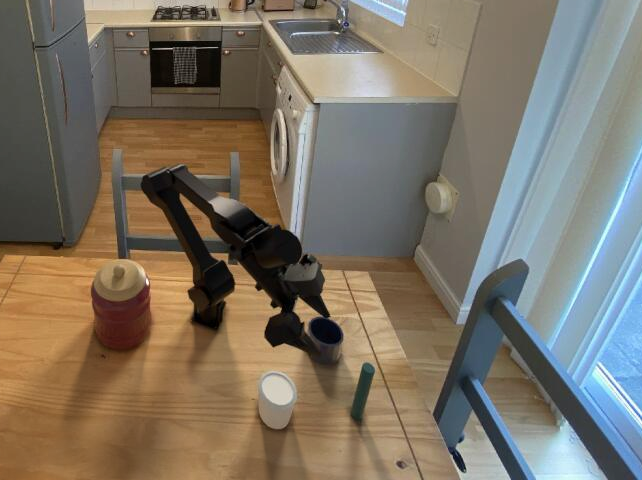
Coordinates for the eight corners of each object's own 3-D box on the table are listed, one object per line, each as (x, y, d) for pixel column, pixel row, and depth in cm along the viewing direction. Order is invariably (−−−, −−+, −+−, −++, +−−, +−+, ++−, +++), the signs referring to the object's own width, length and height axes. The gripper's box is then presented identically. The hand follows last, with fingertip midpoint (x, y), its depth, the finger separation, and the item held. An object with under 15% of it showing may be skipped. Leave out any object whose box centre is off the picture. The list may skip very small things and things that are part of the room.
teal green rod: (350, 417, 78) (362, 370, 73) (350, 406, 79) (362, 360, 74) (362, 422, 77) (375, 375, 72) (362, 411, 78) (375, 364, 73)
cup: (303, 356, 88) (306, 338, 86) (307, 329, 94) (310, 312, 92) (338, 369, 86) (342, 351, 84) (340, 341, 91) (344, 323, 89)
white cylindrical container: (294, 437, 75) (299, 412, 72) (255, 428, 76) (258, 404, 73) (291, 397, 81) (295, 373, 78) (255, 390, 82) (257, 366, 80)
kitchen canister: (142, 295, 104) (140, 239, 97) (159, 341, 92) (157, 281, 85) (90, 310, 100) (83, 252, 93) (100, 359, 89) (94, 298, 82)
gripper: (284, 288, 67) (355, 367, 65) (307, 223, 82) (365, 286, 80) (237, 310, 73) (301, 383, 71) (267, 246, 88) (320, 304, 86)
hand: (324, 335), depth 77 cm, fingers open, 9 cm apart
